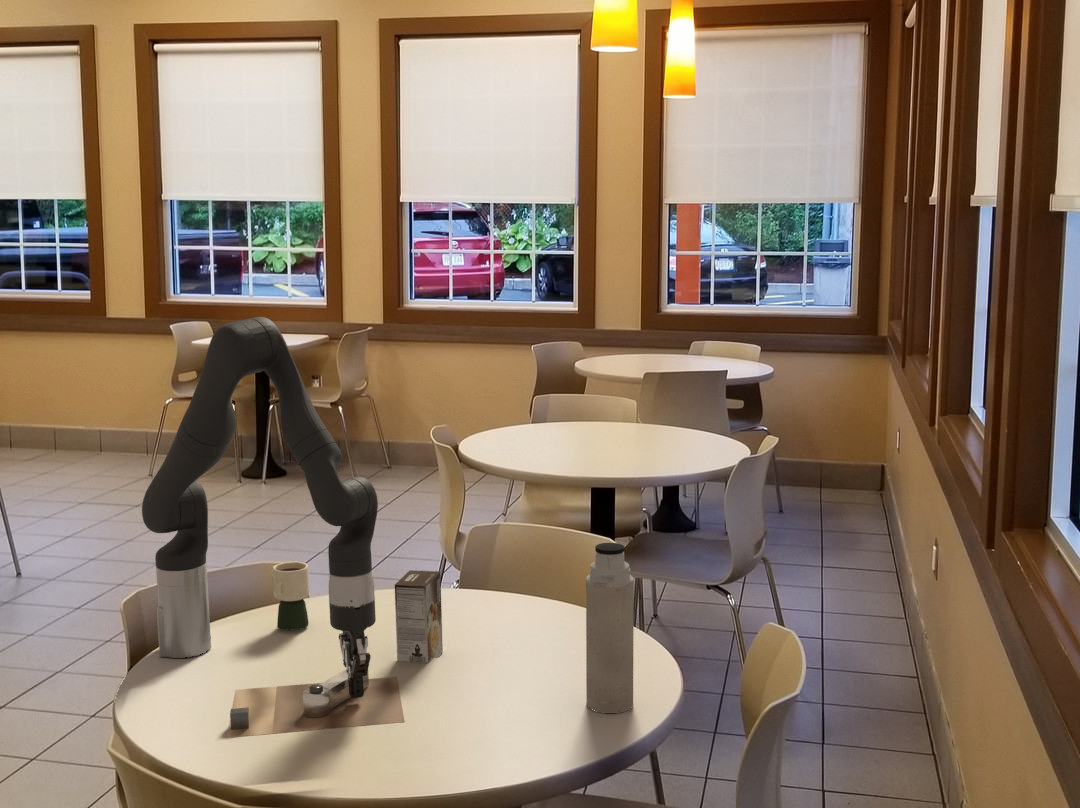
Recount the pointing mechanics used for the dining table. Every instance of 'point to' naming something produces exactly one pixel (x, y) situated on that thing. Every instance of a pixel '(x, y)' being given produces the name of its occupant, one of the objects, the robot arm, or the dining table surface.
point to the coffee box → (418, 616)
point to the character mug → (291, 594)
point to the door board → (286, 714)
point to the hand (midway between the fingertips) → (356, 696)
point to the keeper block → (239, 718)
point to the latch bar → (327, 694)
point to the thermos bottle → (609, 631)
